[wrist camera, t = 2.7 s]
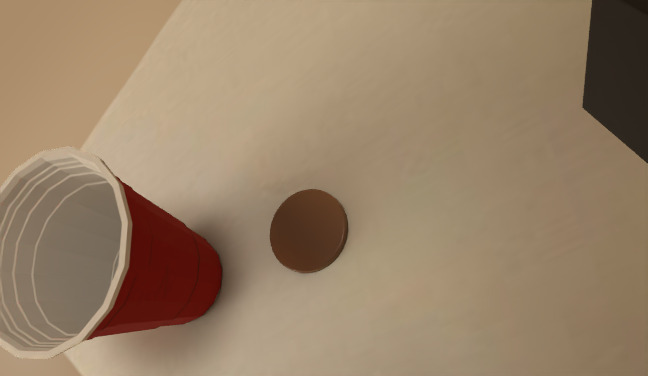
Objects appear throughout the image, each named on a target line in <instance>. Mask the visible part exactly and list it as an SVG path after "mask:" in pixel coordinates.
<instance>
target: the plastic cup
mask: <svg viewBox="0 0 648 376" xmlns="http://www.w3.org/2000/svg"><path fill="white" fill-rule="evenodd" d="M221 278H222V267H221V264H220V260H219V256H218V254H217V253H216V251H215V250H214V249H213V248H212V246H211V245H210V244H209V243H208V242H207V241H206V239H204V238H203V237H201V236H200V235H198V234H196V233H195V232H193V231H192V230H190V229H189V228H187V227H186V225H185V224H184V223H183V222H181V221H179V220H178V219H176V218H175V217H173V216H172V215H170V214H169V213H167V212H166V211H164V210H163V209H161V208H159V207H158V206H156V205H155V204H153V203H152V202H150V201H149V200H147V199H146V198H144V197H143V196H141V195H140V194H138V193H136V192H135V191H134V190H133V189H132V188H131V187H130V186H128V185H127V184H125V183H123V182H122V181H121V180H120V179H119V178H118V177H116V176H115V175H114V174H113V173H112V172H111V170H110V169H109V168H108V167H107V165H106V164H105V163H104V161H102V160H101V159H100V158H99V157H97V156H94V155H92V154H89V153H87V152H84V151H82V150H79V149H77V148H74V147H72V146H70V147H63V148H57V149H51V150H46V151H41V152H40V153H38V154H36V155H35V156H33V157H32V158H31V159H29V160H28V161H26V162H25V163H23V164H22V165H20V166H19V167H17V168H16V169H14V170H13V172H12V173H11V174H10V176H9V177H8V178H7V180H6V181H5V182H4V184H3V185H2V186H1V188H0V346H1V347H3V348H4V349H6V350H7V351H9V352H10V353H12V354H13V355H14V356H16V357H17V358H35V359H36V358H37V359H50V358H52V357H54V356H57V355H58V354H60V353H62V352H64V351H66V350H68V349H70V348H72V347H74V346H75V345H77V344H79V343H81V342H83V341H85V340H90V339H93V338H94V337H98V336H106V335H113V334H120V333H127V332H134V331H142V330H149V329H156V328H158V327H160V326H170V325H180V324H185V323H187V322H190V321H192V320H194V319H196V318H198V317H200V316H202V315H204V313H205V312H206V311H207V310H208V309H209V308H210V307H211V306H212V304H213V303H214V301H215V299H216V297H217V294H218V292H219V290H220V287H221Z"/></svg>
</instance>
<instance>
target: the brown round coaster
mask: <svg viewBox="0 0 648 376" xmlns="http://www.w3.org/2000/svg"><path fill="white" fill-rule="evenodd" d="M347 232H348V223H347V217H346V214H345V211H344V209H343V207H342V205H341V204H340V203H339V202H338V201H337V199H335V198H334V197H333V196H331V195H330V194H328V193H326V192H324V191H321V190H316V189H309V190H303V191H300V192H297V193H295V194H293V195H292V196H290V197H289V198H288V199H286V200H285V201H284V202H283V203H282V204H281V206H280V207H279V208H278V210H277V212H276V213H275V215H274V218H273V220H272V224H271V229H270V242H271V247H272V250H273V252H274V254H275V256H276V258H277V259H278V260H279V261H280V263H282V264H283V265H284V266H285V267H287V268H289V269H291V270H294V271H297V272H301V273H311V272H316V271H319V270H321V269H323V268H325V267H327V266H328V265H329V264H331V263H332V262H333V261H334V260H335V259H336V258H337V257H338V255H339V254H340V252H341V250H342V249H343V247H344V244H345V241H346V238H347Z"/></svg>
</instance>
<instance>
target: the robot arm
mask: <svg viewBox="0 0 648 376" xmlns="http://www.w3.org/2000/svg"><path fill="white" fill-rule="evenodd" d="M582 108H584V109H585V110H586V111H587V112H588V113H589V114H591V115H592V116H593V117H594V118H595V119H596V120H598V121H599V122H600V123H601V124H602V125H603V126H605V127H606V128H607V129H608V130H609V131H610V132H612V133H613V134H614V135H615V136H616V137H617V138H619V139H620V140H621V141H622V142H623V143H624V144H626V145H627V146H628V147H629V148H630V149H631V150H633V151H634V152H635V153H636V154H637V155H638V156H640V157H641V158H642V159H643V160H644V161H645V162H647V163H648V0H592V8H591V19H590V30H589V41H588V52H587V63H586V74H585V85H584V96H583V107H582Z"/></svg>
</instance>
